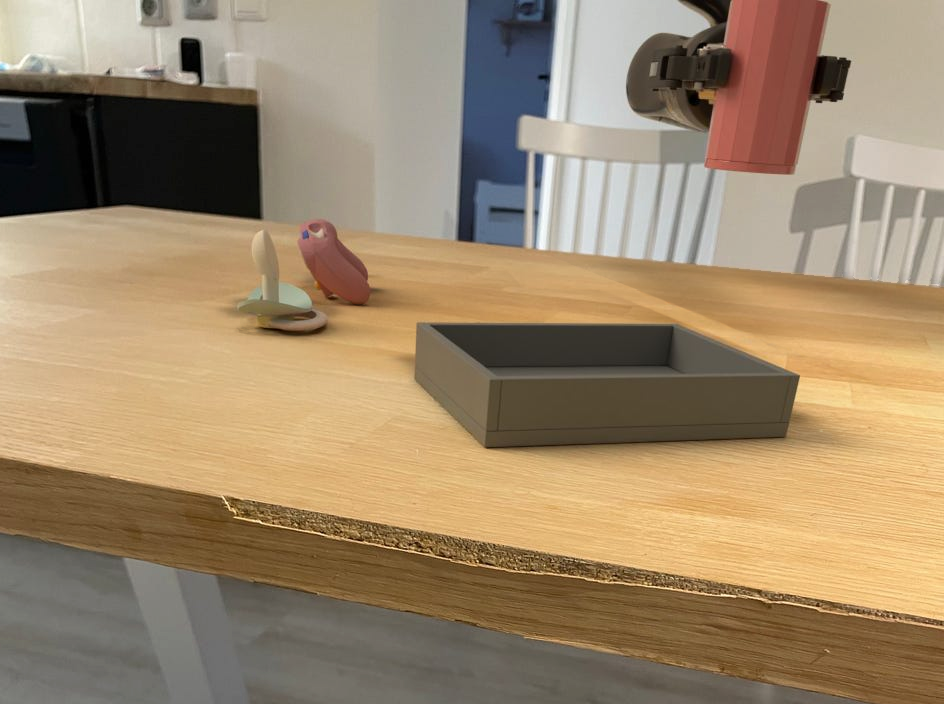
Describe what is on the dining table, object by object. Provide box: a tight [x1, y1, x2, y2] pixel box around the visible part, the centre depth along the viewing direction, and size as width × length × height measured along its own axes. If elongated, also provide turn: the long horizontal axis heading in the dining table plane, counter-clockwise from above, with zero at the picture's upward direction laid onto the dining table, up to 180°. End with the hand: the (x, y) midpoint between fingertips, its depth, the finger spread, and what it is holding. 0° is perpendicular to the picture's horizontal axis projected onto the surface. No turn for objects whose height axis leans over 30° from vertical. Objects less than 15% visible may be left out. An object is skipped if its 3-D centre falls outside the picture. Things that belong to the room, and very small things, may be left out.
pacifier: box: [236, 229, 329, 332], centre depth 66 cm, size 7×6×6 cm
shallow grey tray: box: [413, 321, 801, 448], centre depth 53 cm, size 17×13×3 cm
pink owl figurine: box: [296, 218, 371, 305], centre depth 79 cm, size 10×5×7 cm, turn 6°
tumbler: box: [703, 0, 832, 176], centre depth 65 cm, size 6×6×10 cm
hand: (776, 71), depth 62 cm, fingers closed on tumbler, 6 cm apart
